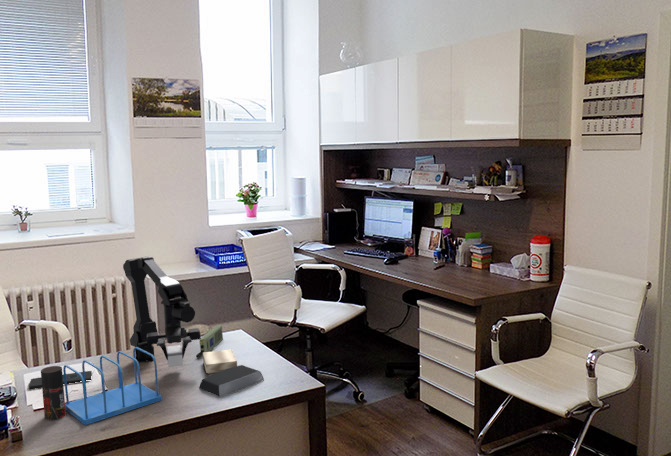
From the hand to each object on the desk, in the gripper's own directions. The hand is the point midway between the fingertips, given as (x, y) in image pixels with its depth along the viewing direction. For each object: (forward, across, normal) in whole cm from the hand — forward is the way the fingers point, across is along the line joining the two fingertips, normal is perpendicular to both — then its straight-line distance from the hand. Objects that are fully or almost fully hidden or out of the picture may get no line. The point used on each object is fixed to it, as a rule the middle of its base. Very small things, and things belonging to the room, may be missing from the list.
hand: (174, 359), depth 224 cm
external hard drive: (+6, +18, -18) cm, 26 cm away
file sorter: (+5, -20, -23) cm, 31 cm away
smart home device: (+6, -39, +5) cm, 40 cm away
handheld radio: (+6, +14, +23) cm, 28 cm away
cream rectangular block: (+5, +16, 0) cm, 17 cm away
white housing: (+1, 0, 0) cm, 1 cm away
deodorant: (+5, -37, -26) cm, 46 cm away
